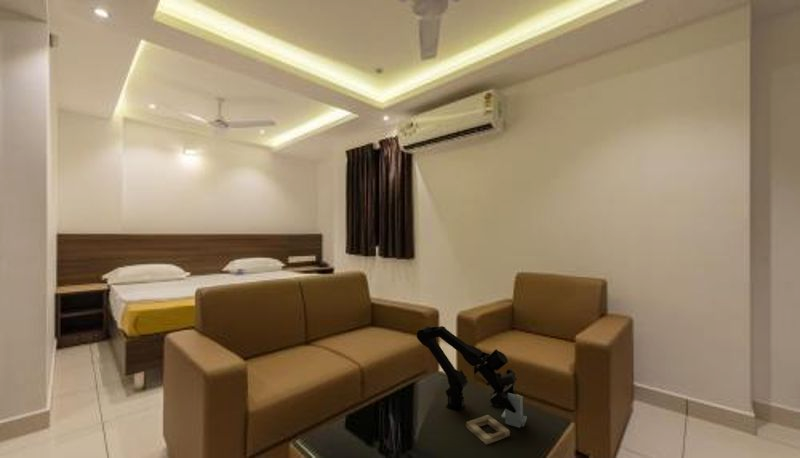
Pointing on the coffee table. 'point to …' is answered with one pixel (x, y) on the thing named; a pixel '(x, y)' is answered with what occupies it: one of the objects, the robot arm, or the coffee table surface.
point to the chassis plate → (485, 437)
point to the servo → (517, 417)
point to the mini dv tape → (490, 398)
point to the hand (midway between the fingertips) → (517, 408)
